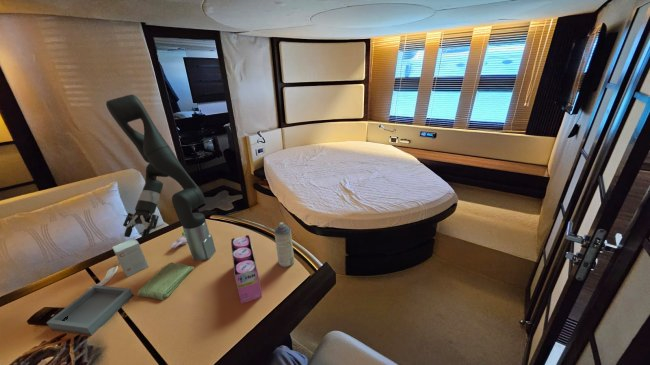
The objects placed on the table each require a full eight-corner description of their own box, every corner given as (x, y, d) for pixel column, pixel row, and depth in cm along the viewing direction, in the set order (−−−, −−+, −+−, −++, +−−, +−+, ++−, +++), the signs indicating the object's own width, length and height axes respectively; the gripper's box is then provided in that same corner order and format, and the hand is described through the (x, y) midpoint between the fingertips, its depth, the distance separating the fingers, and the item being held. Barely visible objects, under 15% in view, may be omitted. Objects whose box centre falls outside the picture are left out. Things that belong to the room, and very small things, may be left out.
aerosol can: (294, 256, 112) (290, 218, 104) (293, 266, 105) (289, 227, 97) (279, 257, 111) (274, 219, 103) (277, 268, 105) (272, 228, 97)
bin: (133, 295, 94) (130, 288, 93) (91, 335, 80) (87, 328, 79) (98, 291, 97) (94, 284, 96) (51, 329, 82) (46, 322, 81)
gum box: (235, 262, 109) (230, 237, 104) (254, 257, 112) (249, 232, 107) (240, 304, 89) (233, 275, 83) (262, 297, 92) (257, 268, 86)
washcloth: (196, 268, 107) (194, 262, 106) (165, 302, 91) (162, 296, 90) (170, 265, 110) (167, 260, 108) (135, 298, 94) (132, 292, 93)
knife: (120, 255, 117) (136, 254, 116) (121, 257, 117) (137, 257, 117) (52, 308, 89) (73, 308, 88) (55, 311, 89) (75, 311, 89)
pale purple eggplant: (187, 236, 131) (166, 251, 117) (185, 226, 130) (164, 239, 115) (198, 237, 131) (178, 251, 116) (196, 226, 129) (176, 240, 115)
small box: (144, 260, 113) (134, 237, 108) (149, 266, 109) (139, 242, 104) (123, 271, 107) (111, 246, 102) (127, 277, 103) (115, 252, 98)
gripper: (127, 198, 111) (113, 235, 105) (155, 200, 109) (142, 237, 103) (141, 203, 118) (128, 237, 112) (167, 204, 116) (156, 240, 110)
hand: (135, 237), depth 107 cm, fingers open, 8 cm apart
